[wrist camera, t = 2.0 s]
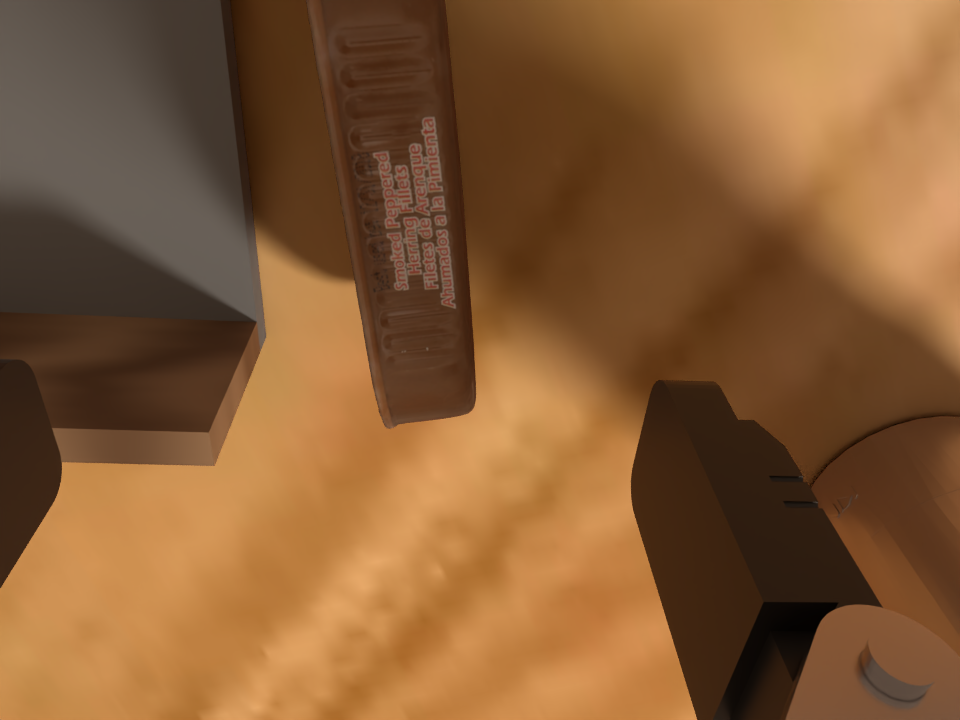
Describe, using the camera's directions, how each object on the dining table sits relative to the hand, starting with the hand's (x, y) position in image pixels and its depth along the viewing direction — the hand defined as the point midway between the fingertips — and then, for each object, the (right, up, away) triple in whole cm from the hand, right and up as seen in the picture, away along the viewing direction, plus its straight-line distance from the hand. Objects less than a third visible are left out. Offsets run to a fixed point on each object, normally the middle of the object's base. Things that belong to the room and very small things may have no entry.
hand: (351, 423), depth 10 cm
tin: (-1, +8, +13) cm, 15 cm away
